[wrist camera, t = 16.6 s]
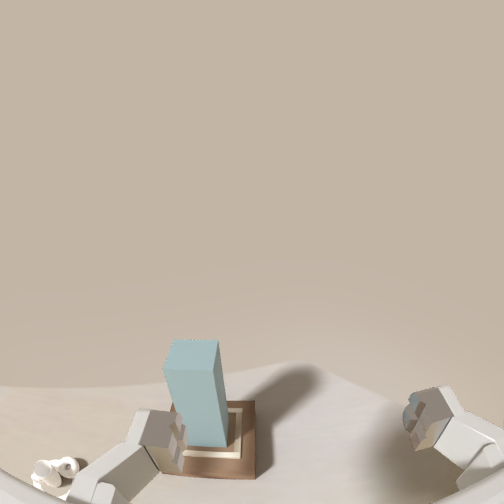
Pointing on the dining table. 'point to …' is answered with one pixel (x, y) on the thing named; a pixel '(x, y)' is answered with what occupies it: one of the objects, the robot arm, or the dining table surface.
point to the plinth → (226, 448)
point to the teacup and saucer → (54, 472)
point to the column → (198, 390)
